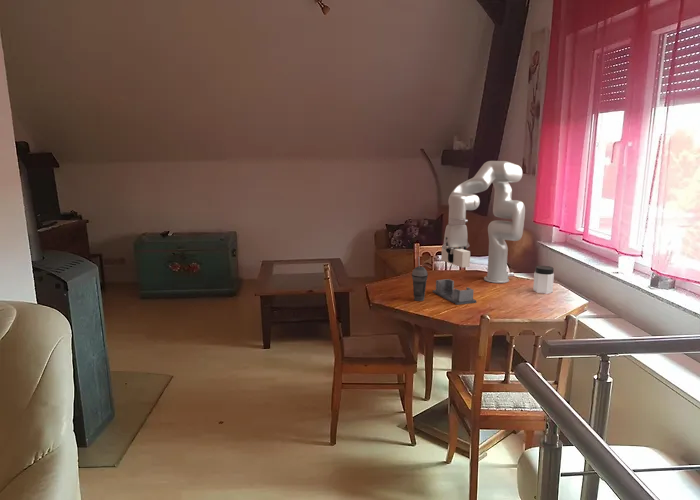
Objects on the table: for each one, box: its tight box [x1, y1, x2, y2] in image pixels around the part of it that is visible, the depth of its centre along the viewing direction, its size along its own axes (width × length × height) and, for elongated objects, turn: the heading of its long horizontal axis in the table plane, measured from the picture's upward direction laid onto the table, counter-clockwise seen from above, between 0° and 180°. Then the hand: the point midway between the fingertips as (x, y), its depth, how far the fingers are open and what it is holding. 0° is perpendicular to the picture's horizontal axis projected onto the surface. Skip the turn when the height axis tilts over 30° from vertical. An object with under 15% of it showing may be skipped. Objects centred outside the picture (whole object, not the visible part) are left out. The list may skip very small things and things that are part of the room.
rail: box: [440, 246, 471, 268], centre depth 241 cm, size 4×17×7 cm, turn 23°
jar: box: [532, 265, 555, 295], centre depth 254 cm, size 9×8×12 cm
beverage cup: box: [411, 256, 428, 302], centre depth 239 cm, size 7×7×20 cm
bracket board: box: [432, 278, 477, 306], centre depth 245 cm, size 10×22×6 cm, turn 20°
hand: (455, 261), depth 242 cm, fingers closed on rail, 4 cm apart
